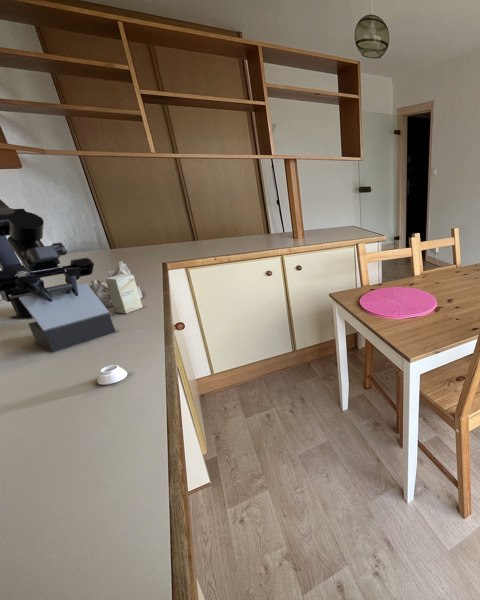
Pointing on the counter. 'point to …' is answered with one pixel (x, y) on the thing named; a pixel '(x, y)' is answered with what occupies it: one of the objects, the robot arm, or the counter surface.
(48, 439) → the counter surface
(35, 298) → the bread lid
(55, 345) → the sloped grey box
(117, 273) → the beige crumpled lump
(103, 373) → the upturned white bowl
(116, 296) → the cosmetic box
